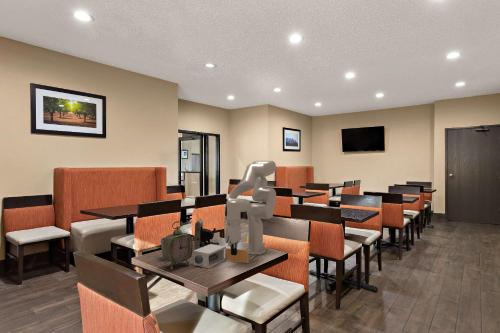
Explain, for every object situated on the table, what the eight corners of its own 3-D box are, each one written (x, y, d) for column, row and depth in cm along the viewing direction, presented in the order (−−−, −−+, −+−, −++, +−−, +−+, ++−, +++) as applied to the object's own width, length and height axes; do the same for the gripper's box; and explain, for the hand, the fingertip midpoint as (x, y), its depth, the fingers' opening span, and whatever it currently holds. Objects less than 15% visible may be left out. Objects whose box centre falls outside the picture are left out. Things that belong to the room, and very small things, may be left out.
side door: (224, 259, 172) (224, 248, 172) (226, 258, 174) (226, 247, 174) (247, 262, 167) (247, 251, 167) (249, 261, 169) (249, 250, 169)
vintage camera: (217, 253, 189) (218, 222, 189) (193, 252, 189) (194, 221, 190) (219, 249, 199) (220, 219, 199) (196, 248, 199) (197, 218, 199)
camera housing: (210, 257, 179) (210, 244, 179) (225, 260, 174) (225, 246, 174) (191, 265, 164) (191, 251, 164) (207, 269, 158) (207, 254, 158)
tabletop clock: (170, 271, 155) (170, 224, 155) (161, 267, 161) (161, 222, 161) (192, 264, 166) (192, 220, 166) (183, 261, 172) (182, 218, 172)
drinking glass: (173, 261, 171) (173, 240, 171) (157, 260, 173) (157, 240, 173) (180, 256, 181) (180, 236, 181) (165, 255, 183) (165, 236, 183)
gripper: (235, 219, 174) (235, 250, 174) (220, 224, 161) (220, 257, 161) (246, 220, 170) (246, 252, 170) (232, 225, 157) (232, 259, 157)
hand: (233, 254), depth 166 cm, fingers closed
